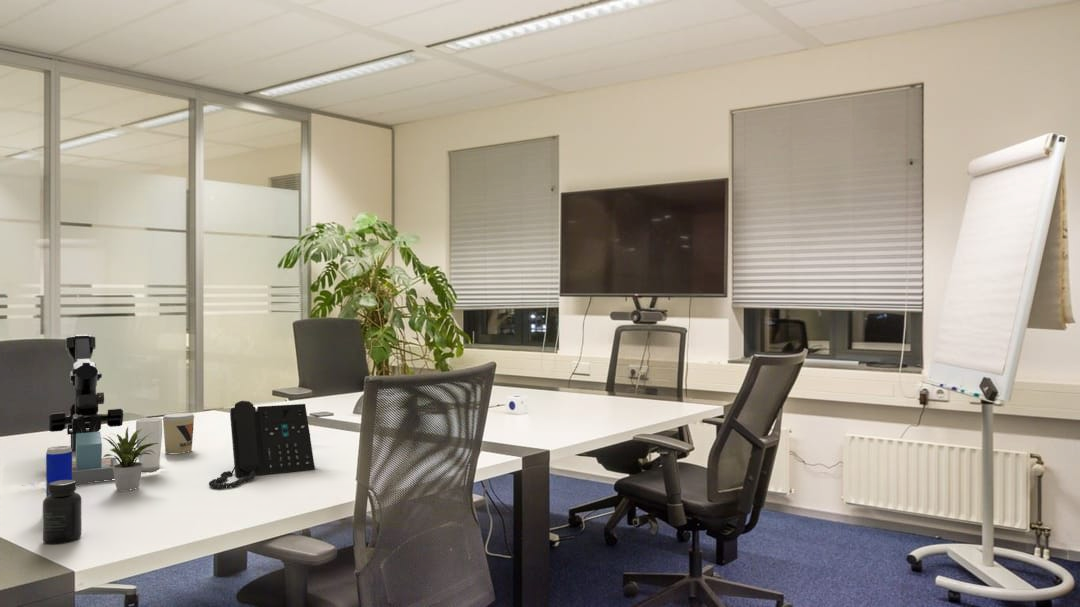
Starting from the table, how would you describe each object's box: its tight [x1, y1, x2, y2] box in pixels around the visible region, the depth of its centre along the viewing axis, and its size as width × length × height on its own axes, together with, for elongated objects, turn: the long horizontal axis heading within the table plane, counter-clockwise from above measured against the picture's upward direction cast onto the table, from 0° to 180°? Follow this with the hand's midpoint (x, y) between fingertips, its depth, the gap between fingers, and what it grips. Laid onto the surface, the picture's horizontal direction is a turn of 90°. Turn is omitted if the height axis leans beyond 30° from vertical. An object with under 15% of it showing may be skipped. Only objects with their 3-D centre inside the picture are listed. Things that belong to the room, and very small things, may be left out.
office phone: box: [208, 400, 316, 490], centre depth 216 cm, size 29×28×20 cm
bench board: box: [72, 456, 112, 470], centre depth 221 cm, size 11×13×2 cm
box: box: [72, 457, 119, 485], centre depth 211 cm, size 14×13×4 cm
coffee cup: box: [162, 412, 195, 454], centre depth 246 cm, size 9×9×12 cm
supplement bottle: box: [42, 480, 83, 545], centre depth 157 cm, size 7×7×12 cm
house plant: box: [99, 426, 158, 491], centre depth 197 cm, size 14×14×16 cm
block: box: [75, 431, 103, 471], centre depth 216 cm, size 7×6×9 cm
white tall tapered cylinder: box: [135, 417, 163, 473], centre depth 218 cm, size 7×7×15 cm
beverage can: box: [45, 445, 73, 498], centre depth 178 cm, size 5×5×15 cm
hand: (88, 443), depth 218 cm, fingers closed
